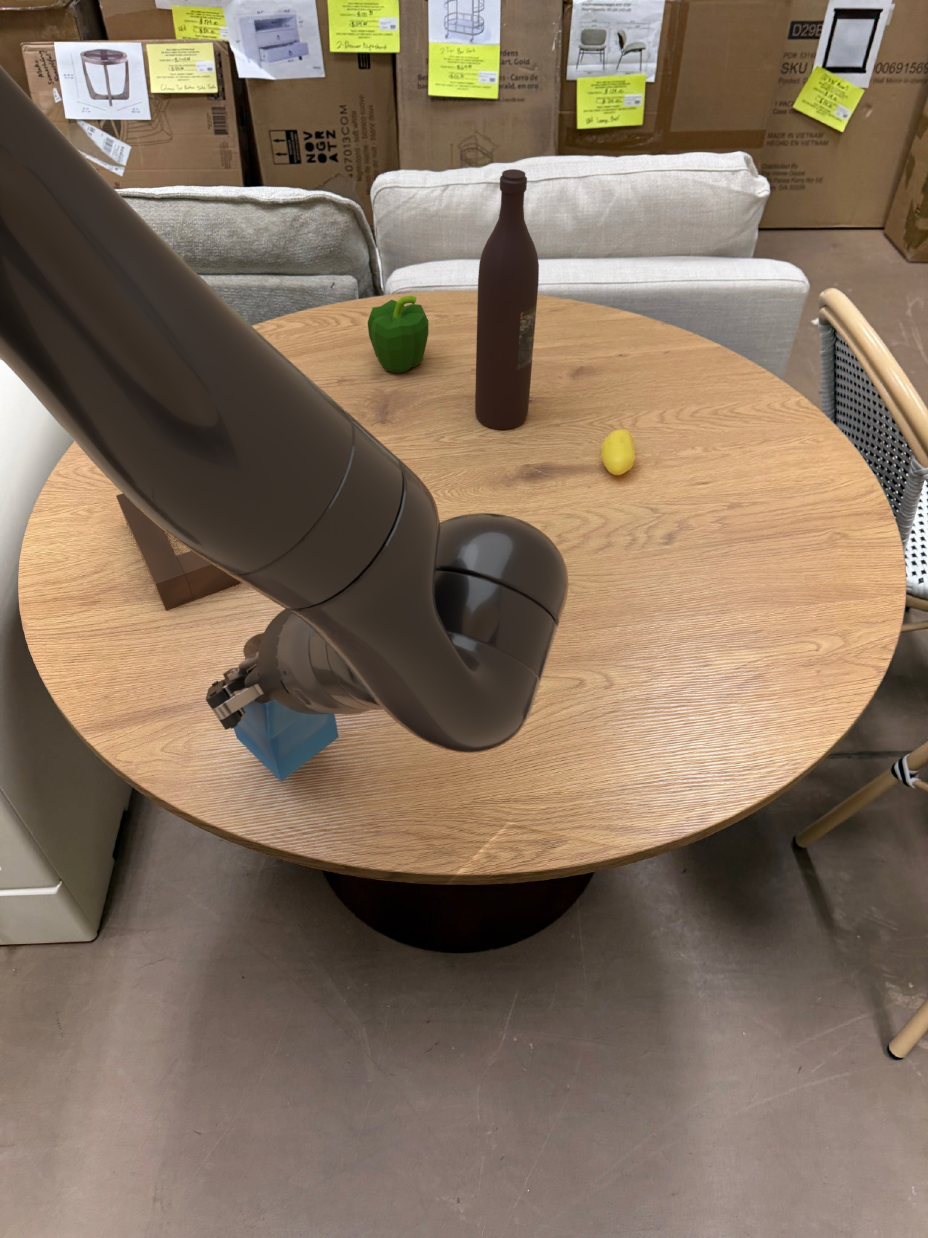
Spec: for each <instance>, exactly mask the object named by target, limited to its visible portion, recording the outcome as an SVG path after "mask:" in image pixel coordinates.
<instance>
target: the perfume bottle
mask: <svg viewBox="0 0 928 1238" xmlns="http://www.w3.org/2000/svg"><path fill="white" fill-rule="evenodd" d="M263 634H264V632H261V633H257V634H255V635H253V636H251V637H250V638H248V640H247V641H246V642H245V643H244V645H243V650H242V652H243V656H244V660H246V659H247V658H249V657H250V656H251V655H254V654H256V653H258V652H259V646H260V642H261V639H262V636H263ZM243 708H244V710H245V711H246V715H244V716H243V717H241V721H240V722H239V723H237V724H238V725H237V726H235V727H234V728H233V731H234V733H235V737H236V739H237V741H239V742H240V743H241V745H242V746H244V747H245V748H246V749H247V750H248V751H249V752H250V753H251V754H252V755H253V756H254V757H255V758H256V759H257V760H258V761H259V762H260V763H261V764H262V765H263V766H264V767H266V769H267V770H268V771H269V772H271V774H272V775H274V777H275V778H276V779H278V780H279V781H280V782H281V783H282V782H283V781H285V780H286V779H287V778H289V777H290V776H291V775H293V774H294V773H295V772H296V771H298V770H299V769H300V768H302V767H303V766H304V765H305V764H307V763H308V762H309V761H310V760H311V759H313V758H314V757H315V756H317V755H318V754H319V753H320V752H322V751H323V750H325V749H326V748H327V747H328V746H329V745H331V744H333V742H334V741H336V740H337V739H338V738H340V737H339V730H338V725H337V720H336V714H305V713H300V712H296V711H294V710H291V709H289V708H287V707H285V706H284V705H282V704H280V703H279V702H277V701H275V700H274V701H271V702H268V703H265V704H259V703H257V702H255V701H254V700H253V701H252V702H250V703H248V704H247V705H245V706H243Z"/></svg>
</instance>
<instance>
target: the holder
mask: <svg viewBox="0 0 928 1238" xmlns="http://www.w3.org/2000/svg"><path fill="white" fill-rule="evenodd" d="M115 497H116V500H117V502H118V504H119V507H120V510H121V513H122V515H123V518H124V520H125V522H126V525H127V528H128V529H129V532H130V534H131V537H132V538H133V540H134V542H135V545H136V547H137V549H138V551H139V554H140V556H141V558H142V560H143V563H144V565H145V567H146V569H147V571H148V574H149V576H150V578H151V580H152V583H153V585H154V588H155V590H156V592H157V594H158V597H159V598H160V601H161V603H162V605H163V608H164V610H165V611H168V610H171V609H174V608H177V607H180V606H183V605H185V604H188V603H190V602H193V601H195V600H199V599H201V598H205V597H207V596H209V595H212V594H216V593H218V592H220V591H224V590H226V589H229V588H231V587H233V586H237V585H239V584H243V583H242V582H240V581H239V580H237V579H235V578H234V577H232V576H230V575H229V574H227V573H226V572H224V571H223V570H221V569H219V568H217V567H216V566H214V565H213V564H211V563H209V562H208V561H206V560H204V559H203V558H201V557H199V556H198V555H196V554H195V553H194V552H192V551H191V550H188V551H186V552H183V553H180V554H178V555H176V553H175V551H174V548H173V547H172V544H171V541H170V540H169V538H168V536H167V533H166V532H165V531H164V530H163V529H161V528H160V527H159V526H158V525H156V524H155V523H154V522H153V521H152V520H151V519H150V518H149V517H147V516H146V515H145V514H144V513H143V512H142V511H141V510H140V509H139V508H137V507H136V506H135V505H134V504H133V503H132V502H131V501H130V500H129V499H128V498H127V497H126V496H125V495H124V494H123V493H120V494H116V495H115Z"/></svg>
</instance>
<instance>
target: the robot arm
mask: <svg viewBox="0 0 928 1238" xmlns="http://www.w3.org/2000/svg"><path fill="white" fill-rule="evenodd" d="M0 359H1V360H2V361H3V362H4V364H6V365H7V367H9V368H10V370H11V371H12V372H13V374H15V376H17V377H18V378H19V380H20V381H21V382H22V383H23V384H24V385H25V386H26V387H27V388H28V390H29V391H30V392H31V393H32V394H33V395H34V396H35V398H36V399H37V400H38V401H39V402H40V403H41V405H42V406H43V407H44V408H45V409H46V410H47V412H49V414H50V415H51V416H52V418H53V419H54V420H55V421H56V422H57V423H58V424H59V426H60V427H61V428H62V429H63V430H64V431H65V433H66V434H68V436H70V438H71V439H72V440H73V441H74V442H75V444H76V445H77V446H78V447H79V448H80V449H81V450H82V451H83V452H84V454H85V455H86V456H87V457H88V458H89V459H90V460H91V462H92V463H93V464H94V465H95V466H96V467H97V468H98V469H99V471H100V472H102V473H103V474H104V476H106V478H107V479H108V480H109V481H110V482H111V484H113V485H114V486H115V487H116V488H117V489H118V490H119V491H120V492H121V494H124V495H125V496H126V497H127V498H128V499H129V500H130V501H131V502H132V503H133V504H134V505H135V506H136V507H137V508H139V509H140V510H141V511H142V512H143V513H144V514H145V515H146V516H147V517H149V518H150V519H151V520H152V521H153V522H154V523H155V524H156V525H158V526H159V527H160V528H161V529H163V530H164V532H165V534H167V535H168V536H170V537H171V538H173V539H174V540H175V541H176V542H178V543H179V544H181V545H182V546H183V547H185V548H186V549H188V551H192V552H194V553H195V554H196V555H198V556H199V557H201V558H203V559H204V560H206V561H208V562H209V563H211V564H213V565H214V566H216V567H217V568H219V569H221V570H223V571H224V572H226V573H227V574H229V575H230V576H232V577H234V578H235V579H237V580H239V581H240V582H242V583H241V584H243V585H245V586H247V587H248V588H250V589H252V590H253V591H255V592H257V593H259V594H260V595H262V596H263V597H265V598H267V599H269V600H270V601H272V602H273V603H275V604H277V605H278V606H280V607H281V608H283V610H281V611H280V612H279V613H278V614H277V615H275V616H274V618H272V619H271V621H270V622H269V623H268V624H267V626H266V628H265V630H264V632H263V633H264V634H263V636H262V639H261V642H260V646H259V652H258V653H256V654H254V655H251V656H250V657H249V658H247V659H246V660H245V659H244V660H243V661H241V662H240V663H238V665H237V667H233V668H232V667H231V668H230V669H227V671H225V672H223V674H222V676H223V678H224V679H221V680H219V681H218V680H216V681H214V682H213V683H211V686H210V687H208V688H207V693H206V696H205V702H206V703H207V704H208V706H209V707H210V709H211V711H212V712H213V713H214V715H215V716H216V718H217V719H218V721H219V723H220V724H221V725H222V727H223V728H224V730H225V731H226V730H229V729H231V730H232V729H234V727H235V726H237V725H238V724H237V723H239V722H240V721H241V717H243V716H244V715H246V711H245V710H244V708H243V706H245V705H247V704H248V703H250V702H252V701H253V700H254V701H255V702H257V703H259V704H265V703H268V702H271V701H274V700H275V701H277V702H279V703H280V704H282V705H284V706H285V707H287V708H289V709H291V710H294V711H296V712H300V713H305V714H335V715H357V714H364V713H367V712H371V711H384V712H385V713H386V714H387V715H388V716H389V717H390V718H392V719H393V720H394V722H396V723H397V724H398V725H399V726H400V727H402V728H403V729H405V730H406V731H408V732H409V733H410V734H412V735H413V736H415V737H416V738H418V739H419V740H422V741H423V742H425V743H427V744H429V745H432V746H433V747H436V748H439V749H442V750H446V751H450V752H455V753H459V754H478V753H484V752H487V751H488V752H489V751H491V750H495V749H497V748H499V747H501V746H503V745H505V744H507V743H508V742H510V741H511V740H513V738H515V737H516V736H517V735H518V734H519V733H520V732H521V731H522V729H523V728H524V726H525V724H526V722H527V721H528V718H529V717H530V715H531V712H532V709H533V707H534V704H535V701H536V698H537V694H538V692H539V688H540V684H541V682H542V678H543V675H544V672H545V669H546V666H547V663H548V659H549V657H550V653H551V651H552V647H553V644H554V640H555V638H556V635H557V632H558V628H559V626H560V623H561V619H562V616H563V614H564V610H565V607H566V604H567V599H568V594H569V585H570V584H569V572H568V567H567V564H566V561H565V559H564V556H563V555H562V553H561V551H560V550H559V548H558V547H557V545H556V544H555V543H554V541H553V540H552V539H551V538H550V537H549V536H547V534H545V532H543V531H542V530H540V529H539V528H538V527H536V526H534V525H533V524H531V523H530V522H527V521H525V520H523V519H520V518H517V517H514V516H509V515H505V514H500V513H499V514H498V513H492V512H491V513H489V512H477V513H476V512H475V513H468V514H462V515H458V516H454V517H451V518H448V519H445V520H442V521H440V515H439V510H438V505H437V502H436V500H435V498H434V495H433V494H432V492H431V490H430V489H429V488H428V487H427V485H426V484H425V483H424V482H423V480H422V479H421V478H420V477H419V476H418V475H417V474H416V473H415V472H414V471H413V470H412V469H411V468H410V467H409V466H407V465H406V463H405V462H403V460H401V459H400V458H399V457H398V456H397V455H396V454H394V452H392V450H391V449H389V448H388V447H387V446H386V445H385V444H383V443H382V442H381V441H380V440H379V439H378V438H377V437H376V436H375V435H373V433H371V432H370V431H369V430H368V429H367V428H366V427H365V426H363V425H362V423H360V422H359V421H358V420H357V419H356V418H354V416H352V414H350V413H349V412H348V411H347V410H346V409H344V408H343V406H341V405H340V404H339V403H338V402H337V401H336V400H335V399H334V398H332V397H331V396H330V395H328V393H326V392H325V391H324V390H323V389H322V388H321V387H320V386H318V385H317V384H316V383H315V382H314V381H313V380H312V379H311V378H310V377H309V376H307V375H306V374H305V373H304V372H303V371H302V370H300V369H299V368H298V367H297V366H296V365H295V364H294V363H293V362H291V361H290V360H289V358H287V357H286V356H285V355H284V354H283V353H282V352H281V351H279V350H278V348H276V346H274V345H273V344H272V343H271V342H269V340H268V339H266V338H265V337H264V336H263V335H262V334H261V333H260V332H259V331H258V330H257V329H256V328H254V326H253V325H251V324H250V323H249V322H248V321H247V320H246V319H245V318H244V317H243V316H242V315H240V314H239V312H238V311H236V310H235V309H234V308H233V307H232V306H231V305H230V304H229V303H228V302H227V301H225V300H224V299H223V298H222V297H221V295H219V294H218V292H216V291H215V290H214V289H213V287H212V286H211V285H209V283H207V282H206V281H205V280H204V279H203V278H202V277H201V275H199V274H198V273H197V272H196V270H195V269H193V267H191V265H190V264H188V263H187V262H186V261H185V260H184V259H183V257H181V256H180V255H179V254H178V253H177V252H176V250H174V248H172V247H171V246H170V245H169V244H168V243H167V242H166V241H165V240H164V239H163V238H162V237H161V236H160V235H159V234H158V233H157V231H156V230H154V229H153V228H152V227H151V225H149V224H148V223H147V221H146V220H144V218H142V216H141V215H140V214H139V213H138V212H137V211H136V210H135V209H134V208H133V207H132V206H131V204H130V203H129V202H127V201H126V200H125V198H124V197H123V196H122V195H121V194H119V192H118V191H117V190H116V189H115V188H114V187H113V186H112V185H111V183H109V182H108V180H106V179H105V177H104V176H103V175H102V174H101V173H100V172H99V170H97V169H96V168H95V167H94V165H93V164H92V163H91V162H90V161H89V160H88V159H87V158H86V157H85V156H84V155H83V154H82V152H81V151H79V149H78V148H77V147H76V146H75V145H74V144H73V143H72V142H71V141H70V139H68V137H67V136H66V135H65V134H64V133H63V132H62V131H61V130H60V129H59V128H58V127H57V125H56V124H55V123H54V122H53V121H52V120H51V119H50V118H49V117H48V116H47V115H46V114H45V112H44V111H43V110H42V109H41V108H40V107H39V106H38V105H37V104H36V103H35V102H34V100H32V98H31V97H30V96H29V95H28V94H27V92H25V91H24V89H22V87H21V86H20V85H19V84H18V83H17V81H15V79H14V78H13V77H12V76H11V75H10V73H8V71H6V69H5V68H4V67H3V66H2V65H1V64H0Z"/></svg>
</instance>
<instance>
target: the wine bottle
mask: <svg viewBox="0 0 928 1238" xmlns="http://www.w3.org/2000/svg"><path fill="white" fill-rule="evenodd" d="M527 189H528V177H527V176H526V172H525V171H523V170H522V169H517V168H515V169H513V168H512V169H506V170H503V171H502V172H501V176H500V177H499V190H500V192H501V193H500V207H499V208H500V209H499V215H498V219H497V221H496V223H495V225H494V228H493V230H492V232H491V233H490V235H489V237H488V239H487V240H486V242H485V245H484V247H483V249H482V252H481V256H480V259H479V264H478V278H477V306H476V307H477V308H476V309H477V310H476V311H477V313H476V352H475V354H476V355H475V390H474V391H475V392H474V393H475V394H474V395H475V396H474V413H475V416H476V417H475V418H476V419H477V421H478V422H479V423H480V424H482V425H483V426H485V427H488V428H491V429H495V430H511V429H515V428H517V427H519V426H522V424H524V423H525V421H526V420H527V417H528V414H529V405H530V394H531V381H532V370H533V369H532V368H533V357H534V343H535V341H534V340H535V333H536V331H535V330H536V319H537V307H538V306H537V305H538V294H539V293H538V292H539V281H540V279H539V276H540V275H539V274H540V263H539V255H538V251H537V248H536V246H535V245H536V244H535V242H534V241H533V239H532V236H531V234H530V232H529V229H528V226H527V224H526V220H525V208H524V204H525V193H526V191H527Z"/></svg>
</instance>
